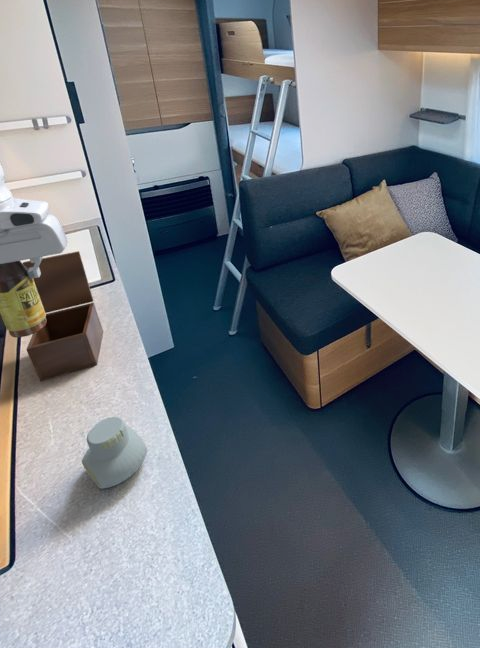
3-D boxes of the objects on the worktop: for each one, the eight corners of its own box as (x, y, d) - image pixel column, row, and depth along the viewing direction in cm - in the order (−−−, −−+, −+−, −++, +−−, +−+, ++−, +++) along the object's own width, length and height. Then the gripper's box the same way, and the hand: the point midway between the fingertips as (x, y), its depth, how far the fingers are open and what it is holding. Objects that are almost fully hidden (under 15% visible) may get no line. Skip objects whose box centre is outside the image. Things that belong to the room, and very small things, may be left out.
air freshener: (82, 468, 78) (66, 431, 74) (126, 435, 84) (114, 399, 80) (110, 503, 72) (94, 465, 68) (155, 464, 78) (143, 427, 74)
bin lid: (78, 252, 105) (82, 245, 109) (22, 263, 100) (28, 255, 105) (93, 301, 109) (96, 293, 113) (39, 314, 104) (45, 305, 109)
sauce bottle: (40, 335, 81) (6, 247, 73) (2, 342, 79) (-37, 252, 72) (54, 315, 87) (24, 231, 79) (19, 320, 85) (-15, 236, 78)
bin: (97, 364, 102) (85, 333, 98) (40, 381, 97) (26, 349, 94) (103, 331, 113) (93, 302, 109) (52, 345, 109) (40, 315, 105)
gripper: (-103, 235, 67) (-68, 305, 72) (50, 212, 75) (71, 277, 80) (-83, 220, 72) (-52, 286, 77) (57, 200, 80) (77, 261, 85)
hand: (11, 281), depth 79 cm, fingers closed on sauce bottle, 6 cm apart
